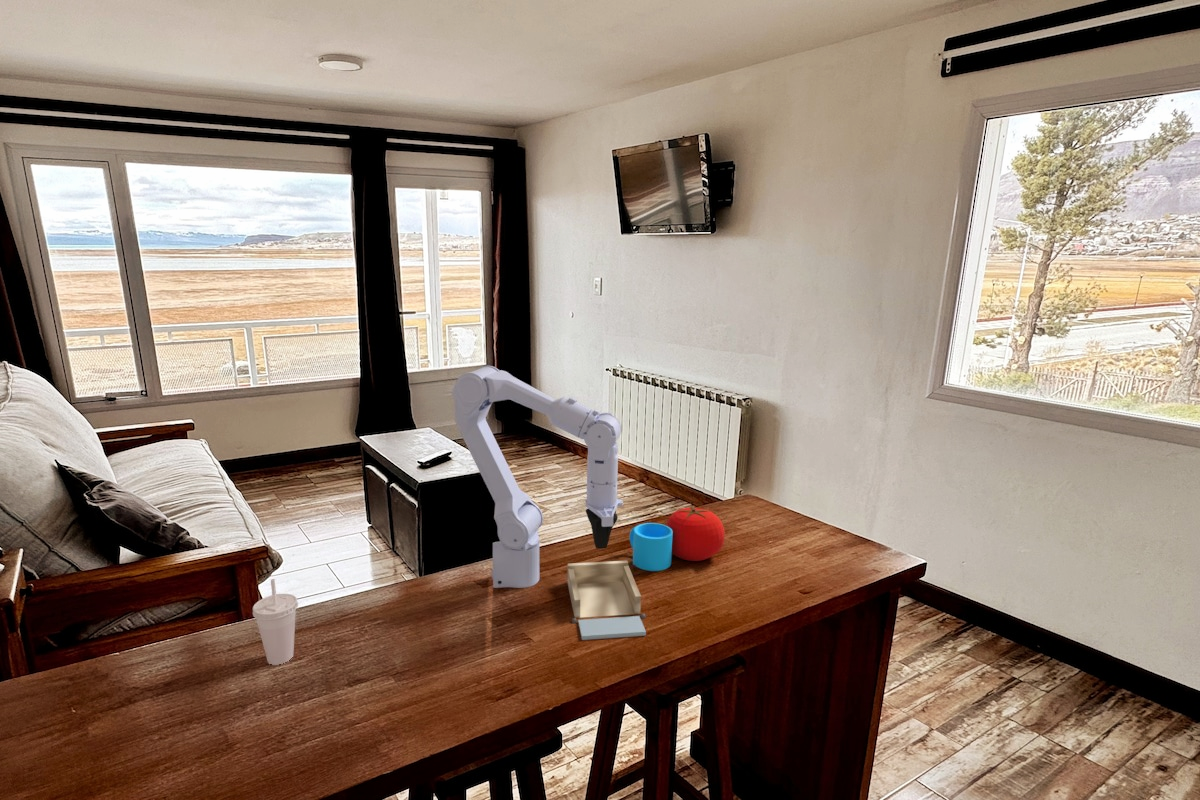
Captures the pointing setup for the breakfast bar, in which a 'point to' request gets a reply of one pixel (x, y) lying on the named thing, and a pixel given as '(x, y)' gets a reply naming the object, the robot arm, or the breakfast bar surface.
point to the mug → (651, 546)
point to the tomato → (695, 533)
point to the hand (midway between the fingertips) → (600, 546)
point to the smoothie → (277, 625)
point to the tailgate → (611, 627)
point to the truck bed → (603, 589)
